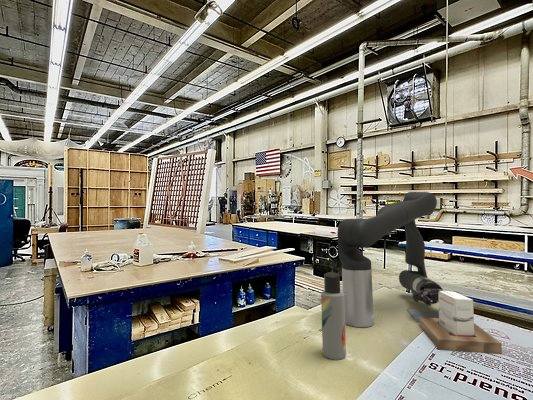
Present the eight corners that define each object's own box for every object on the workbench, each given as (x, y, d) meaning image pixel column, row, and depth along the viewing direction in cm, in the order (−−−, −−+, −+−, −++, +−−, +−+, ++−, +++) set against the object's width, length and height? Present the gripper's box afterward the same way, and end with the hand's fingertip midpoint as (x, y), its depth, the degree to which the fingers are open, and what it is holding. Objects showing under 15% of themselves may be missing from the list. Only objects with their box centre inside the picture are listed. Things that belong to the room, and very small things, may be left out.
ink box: (476, 345, 75) (474, 298, 76) (456, 345, 75) (454, 299, 76) (456, 331, 84) (453, 290, 84) (438, 332, 84) (436, 290, 84)
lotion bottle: (347, 350, 73) (344, 271, 74) (345, 361, 68) (342, 276, 69) (324, 347, 75) (322, 270, 76) (321, 358, 70) (318, 274, 71)
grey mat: (416, 322, 92) (416, 320, 92) (406, 309, 103) (406, 308, 103) (465, 324, 89) (465, 323, 89) (449, 311, 100) (449, 310, 100)
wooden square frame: (438, 349, 73) (438, 339, 73) (419, 325, 89) (418, 317, 89) (502, 353, 70) (501, 343, 70) (470, 328, 86) (469, 319, 86)
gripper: (404, 278, 103) (418, 289, 88) (448, 279, 100) (471, 291, 85) (405, 299, 103) (420, 315, 87) (449, 301, 100) (472, 317, 84)
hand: (445, 303), depth 86 cm, fingers open, 8 cm apart
